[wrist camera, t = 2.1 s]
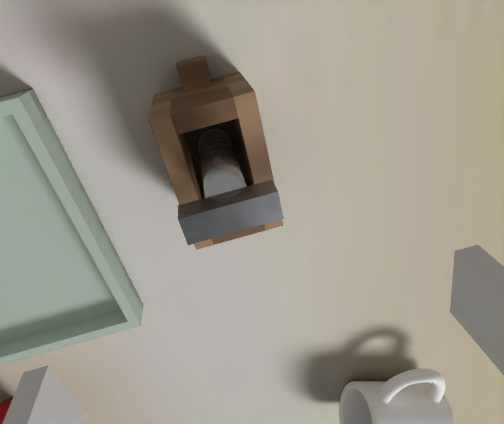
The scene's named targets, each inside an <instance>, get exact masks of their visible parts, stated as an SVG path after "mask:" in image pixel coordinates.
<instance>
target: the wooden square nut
mask: <svg viewBox="0 0 504 424" xmlns="http://www.w3.org/2000/svg"><path fill="white" fill-rule="evenodd" d="M177 69H178V72H179V75H180V79H181V82H182V85H183V88H179V89H176V90H172V91H168V92H164V93H160V94H157V95H154V99H153V103H152V107H151V111H150V115H149V119H148V121H149V123H150V126H151V129H152V132H153V134H154V137H155V140H156V142H157V145H158V148H159V151H160V153H161V156H162V159H163V161H164V164H165V167H166V169H167V172H168V175H169V178H170V180H171V183H172V186H173V188H174V191H175V194H176V196H177V199H178V202H179V205H181V204H185V203H189V202H192V201H196V200H199V199H203V198H205V194H204V189H203V186H202V183H201V180H200V176H199V173H198V170H197V167H196V164H195V161H194V158H193V155H192V152H191V149H190V146H189V142H188V139H187V136H186V133H185V132H189V131H193V130H196V129H200V128H204V127H208V126H211V125H215V124H219V123H222V122H226V121H230V120H234V123H235V127H236V131H237V135H238V139H239V143H240V147H241V151H242V155H243V159H244V163H245V167H246V171H247V175H248V178H245V179H244V181H245V183H246V186H250V185H254V184H258V183H261V182H265V181H269V180H272V181H273V183H274V180H273V175H272V170H271V166H270V161H269V156H268V151H267V147H266V142H265V137H264V133H263V128H262V123H261V118H260V114H259V109H258V104H257V100H256V95H255V91H254V90H253V88H252V87H251V86H250V85H249V83H248V82H247V81H246V80H245V78H244V77H243V76H242V74H241V73H236V74H232V75H228V76H225V77H221V78H217V79H213V80H210V76H209V72H208V68H207V65H206V61H205V58H204V56H201V57H197V58H193V59H190V60H186V61H182V62H178V63H177ZM279 226H283V222H282V219H280V220H277V221H273V222H270V223H266V224H262V225H259V226H255V227H252V228H248V229H244V230H241V231H237V232H234V233H230V234H226V235H223V236H219V237H216V238H212V239H209V240H205V241H201V242H198V243H194V245H195V248H196V249H200V248H204V247H207V246H211V245H214V244H218V243H222V242H225V241H229V240H232V239H236V238H240V237H243V236H247V235H250V234H254V233H257V232H261V231H265V230H268V229H272V228H275V227H279Z"/></svg>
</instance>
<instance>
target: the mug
mask: <svg viewBox="0 0 504 424" xmlns="http://www.w3.org/2000/svg"><path fill="white" fill-rule="evenodd" d="M429 382H432V384H431V383H429ZM444 391H445V380H444V378H443V376H442V375H441V374H440V373H438V372H437V371H434V370H431V369H413V370H409V371H405V372H403V373H400V374H398V375H396V376H394V377H392V378H391V379H389V380H388V381H352V382H349V383H348V384H347V385H346V386H345V387H344V389H343V391H342V394H341V397H340V403H339V419H340V424H456V423H455V418H454V414H453V411H452V409H451V406H450V404H449V402H448V400H447V399H446V397H445V396H444Z"/></svg>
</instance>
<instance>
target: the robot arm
mask: <svg viewBox="0 0 504 424" xmlns="http://www.w3.org/2000/svg"><path fill="white" fill-rule="evenodd" d="M450 312H451V314H452V315H453V316H454V317H455V318H456V319H457V321H458V322H459V323H460V324H461V325H462V326H463V328H464V329H465V330H466V331H467V332H468V334H469V335H470V336H471V337H472V338H473V339H474V341H475V342H476V343H477V344H478V345H479V347H480V348H481V349H482V350H483V351H484V352H485V354H486V355H487V356H488V357H489V358H490V360H491V361H492V362H493V363H494V364H495V365H496V367H497V368H498V369H499V370H500V371H501V372H502V374H503V375H504V266H503V265H501V264H500V263H499V262H498V261H497V260H495V259H494V258H493V257H492V256H491V255H490V254H488V253H487V252H486V251H485V250H484V249H482V248H481V247H480V246H479V245H475V246H471V247H468V248H464V249H461V250H457V251H455V256H454V269H453V281H452V294H451V307H450ZM86 419H87V415H86V413H85V412H84V411H83V410H82V408H81V407H80V406H79V404H78V403H77V402H76V401H75V399H74V398H73V397H72V396H71V394H70V393H69V392H68V390H67V389H66V388H65V387H64V385H63V384H62V383H61V381H60V380H59V379H58V378H57V376H56V375H55V374H54V373H53V371H52V370H51V369H50V367H49V366H45V367H42V368H38V369H35V370H31V371H27V372H24V373H23V375H22V378H21V380H20V382H19V385H18V387H17V390H16V392H15V395H14V397H13V399H12V402H11V404H10V407H9V409H8V411H7V414H6V416H5V419H4V421H3V423H2V424H86Z"/></svg>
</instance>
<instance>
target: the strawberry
mask: <svg viewBox="0 0 504 424" xmlns="http://www.w3.org/2000/svg"><path fill="white" fill-rule="evenodd" d="M11 402H12V399H10V400H6V401H4V402H2V403H1V404H0V424H2V423H3V421H4V419H5V416H6V414H7V411H8V409H9V407H10V404H11Z"/></svg>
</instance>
